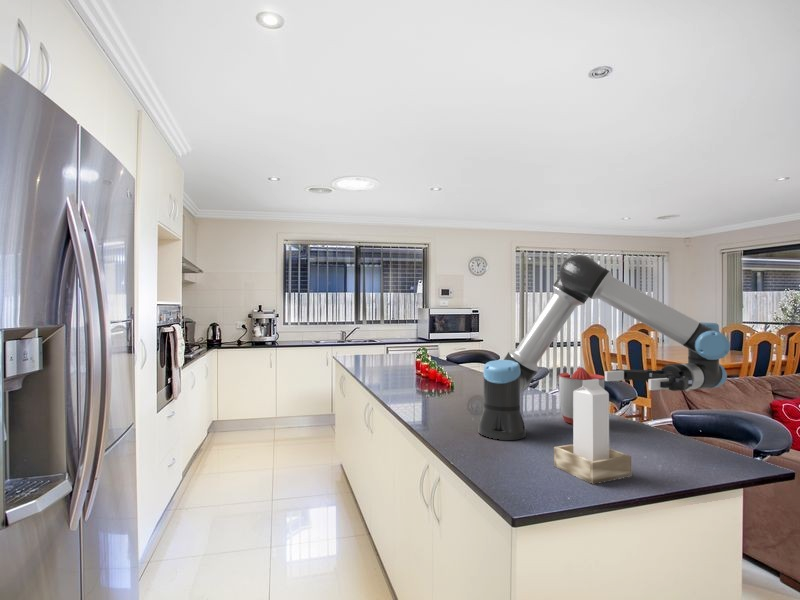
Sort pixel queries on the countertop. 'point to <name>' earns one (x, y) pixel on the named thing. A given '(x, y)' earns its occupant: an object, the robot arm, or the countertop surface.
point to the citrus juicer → (569, 386)
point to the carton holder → (592, 465)
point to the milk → (591, 421)
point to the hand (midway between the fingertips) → (626, 380)
